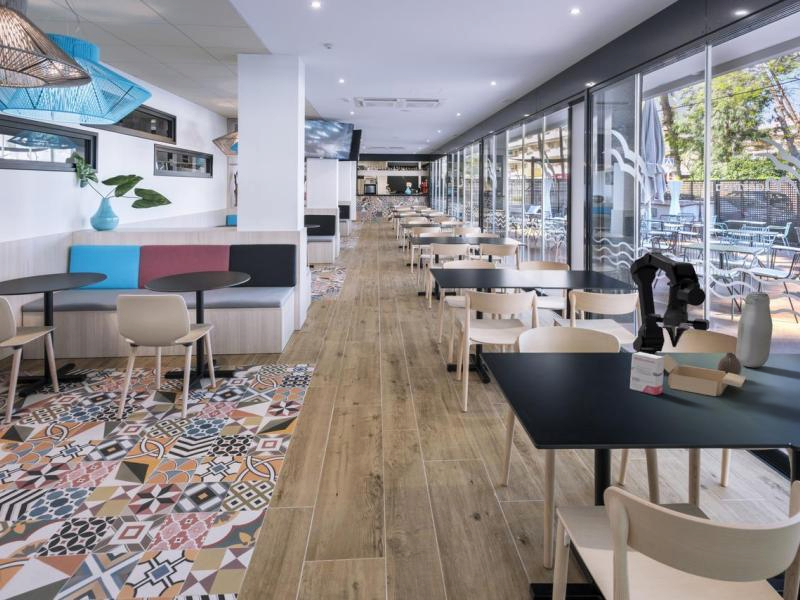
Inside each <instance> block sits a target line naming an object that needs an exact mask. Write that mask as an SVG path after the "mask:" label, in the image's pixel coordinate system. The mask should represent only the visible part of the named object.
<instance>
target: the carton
mask: <svg viewBox="0 0 800 600" xmlns="http://www.w3.org/2000/svg"><path fill="white" fill-rule="evenodd" d="M668 374H669V375H668V383H667V386H668V387H669V388H670V389H674V390H678V391H684V392H689V393H694V394H695V393H696V394H699V395H700V394H701V395H704V396H705V395H706V396H712V397H716V396H719V397H721V396H722V395H723V393H724V391H725V390H726V388H727V387H728V384H725V383H722V381H723V380H724V378H725V377H726V375H727V374H726V373H725V371H718V369H711V368H705V367H699V366H693V365H685V364H681V365H677V366H676V367H675V368H674V369H673V370H672V371H671V372H670V373H668Z"/></svg>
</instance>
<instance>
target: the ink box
mask: <svg viewBox="0 0 800 600" xmlns="http://www.w3.org/2000/svg"><path fill="white" fill-rule="evenodd" d="M657 355H658V354H657ZM657 355H652V354H648V353H643V352H638V353H637V352H633V353H632V354H631V366H630V367H631V368H630V383H629V389H630V390H634V391H637V392H640V393H641V392H642V393H646V394H650V395H653V396H656V395H657V396H658V395H659V394H660V395H661V393H662V392H663V385H664V384H663V382H664V371H665V369H664V357H663V356H661V355H658V356H657Z"/></svg>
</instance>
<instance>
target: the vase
mask: <svg viewBox="0 0 800 600" xmlns="http://www.w3.org/2000/svg"><path fill="white" fill-rule="evenodd" d="M717 370H718V371H725V373H726V374H728V373H733V374H737V375H741V372H742V364H741V363H740V362H739V360H738V359H737V355H736V353H734V352H726V354H725V355H724V356H723V357H722V358H721V359H720V360H719V361H718V364H717Z"/></svg>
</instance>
